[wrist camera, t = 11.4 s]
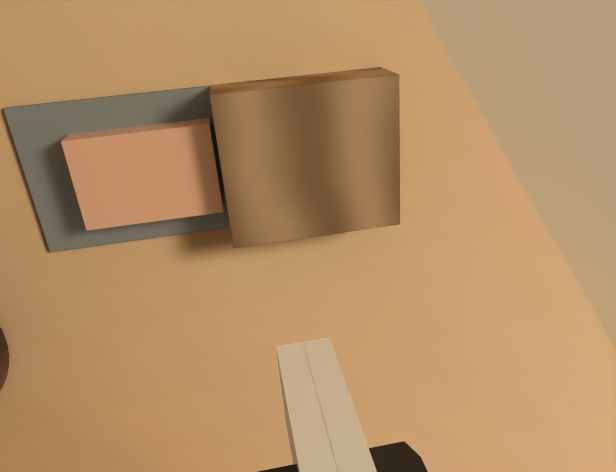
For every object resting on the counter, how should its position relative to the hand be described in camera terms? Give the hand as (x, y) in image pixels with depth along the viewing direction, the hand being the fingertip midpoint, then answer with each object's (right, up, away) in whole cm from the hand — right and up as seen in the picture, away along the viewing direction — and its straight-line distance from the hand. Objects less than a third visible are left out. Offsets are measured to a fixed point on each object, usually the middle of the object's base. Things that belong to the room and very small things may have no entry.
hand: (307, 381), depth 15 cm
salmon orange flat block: (-11, +9, +20) cm, 25 cm away
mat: (-12, +9, +21) cm, 25 cm away
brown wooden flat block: (0, +10, +22) cm, 24 cm away
